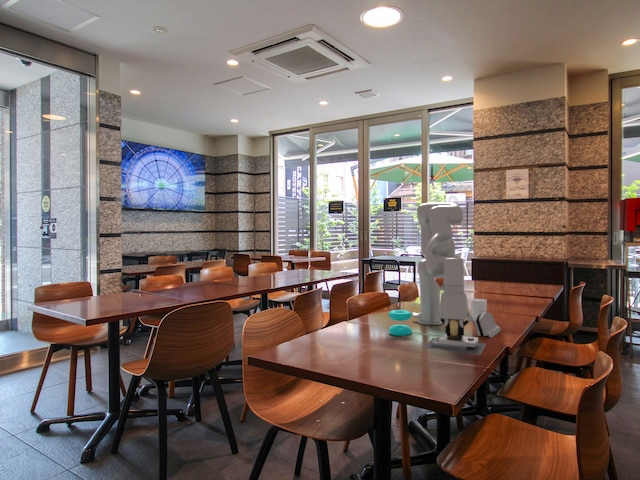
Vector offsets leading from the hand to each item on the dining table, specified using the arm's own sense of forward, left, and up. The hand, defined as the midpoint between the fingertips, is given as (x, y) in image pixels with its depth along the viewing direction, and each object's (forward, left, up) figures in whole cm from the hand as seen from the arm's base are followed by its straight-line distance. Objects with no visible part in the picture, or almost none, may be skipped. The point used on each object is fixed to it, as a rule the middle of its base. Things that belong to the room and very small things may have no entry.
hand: (454, 335), depth 158 cm
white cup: (0, +56, -5) cm, 56 cm away
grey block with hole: (0, 0, -4) cm, 4 cm away
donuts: (-26, +11, -5) cm, 28 cm away
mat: (0, 0, -4) cm, 4 cm away
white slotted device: (+8, +28, -5) cm, 29 cm away
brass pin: (0, 0, -2) cm, 2 cm away
